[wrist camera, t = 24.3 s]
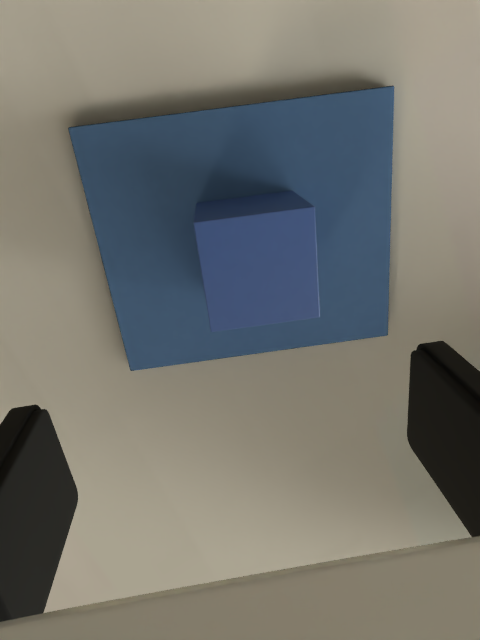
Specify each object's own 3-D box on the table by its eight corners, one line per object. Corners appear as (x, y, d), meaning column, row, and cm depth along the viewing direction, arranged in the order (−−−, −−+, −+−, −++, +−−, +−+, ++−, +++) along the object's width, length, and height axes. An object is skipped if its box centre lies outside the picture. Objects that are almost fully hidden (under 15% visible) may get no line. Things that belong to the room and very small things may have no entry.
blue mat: (132, 365, 24) (130, 371, 23) (71, 127, 19) (67, 127, 18) (384, 331, 24) (388, 335, 23) (389, 86, 19) (394, 85, 18)
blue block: (210, 294, 22) (210, 332, 18) (195, 202, 20) (192, 222, 16) (298, 282, 22) (320, 317, 18) (292, 190, 20) (315, 206, 16)
